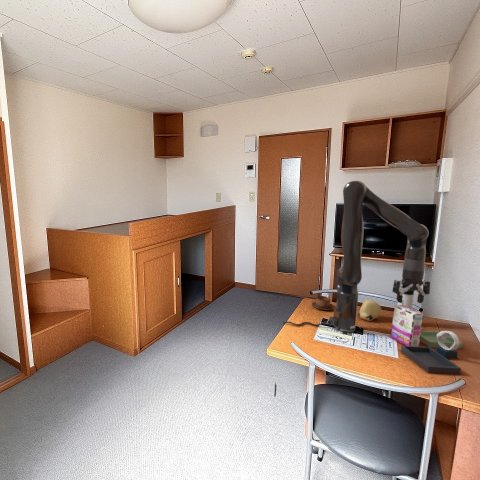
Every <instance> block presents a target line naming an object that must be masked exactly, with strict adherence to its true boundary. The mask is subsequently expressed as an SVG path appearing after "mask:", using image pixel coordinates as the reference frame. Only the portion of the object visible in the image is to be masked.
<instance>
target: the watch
mask: <svg viewBox="0 0 480 480" xmlns="http://www.w3.org/2000/svg"><path fill="white" fill-rule="evenodd" d="M436 336H437V340H438V343H439V345H440V346H441V347H435V351H436V352H438V353H439V354H441V355H442V356H444V357H445V358H447V359H448V360H450V359H458V354H459V351H458V350H457V349H459V348H458V347H459V344H460V342H461V341H460V338H459V336H458V335H457V334H456V333H455V332H454V331H451V330H450V331H449V330H442V331H441V332H439V333H438V334H437V335H436ZM449 336H451V337H453V339H454V341H455V343H454V344H453V345H452V347H449V346H446V345H445V344H444V341H443V340H445V338H448V337H449Z"/></svg>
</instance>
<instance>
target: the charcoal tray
mask: <svg viewBox="0 0 480 480" xmlns="http://www.w3.org/2000/svg"><path fill="white" fill-rule="evenodd" d="M400 352H401V353H402V354H404V355H405V356H406V357H408V358H409V359H410V360H411V361H412V362H414V363H415V364H416V365H417V366H419V367H420V368H421V369H423V371H425V372H426V373H428V374H445V375H446V374H447V375H448V374H450V375H461V369H462V368H461V367H460V366H458V365H457V364H455V363H454V362H453V361H452V360H450V359H447V358H445V357H444V356H442V355H441V354H439V353H438V352H436V349H434V348H433V347H428V346H419V347H418V346H405V345H401V347H400Z"/></svg>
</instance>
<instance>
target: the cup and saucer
mask: <svg viewBox="0 0 480 480" xmlns="http://www.w3.org/2000/svg"><path fill="white" fill-rule="evenodd" d="M311 305H312V306H313V307H314V308H315V309H318V310H321V311H331V310H334V309H335V305H334V304H332V303H331V298H330V297H328V296H323V295H318V296H316V301H312V302H311Z"/></svg>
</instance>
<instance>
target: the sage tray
mask: <svg viewBox="0 0 480 480" xmlns="http://www.w3.org/2000/svg"><path fill="white" fill-rule="evenodd" d="M439 332H442V331H440V330H437V331H436V330H421V336H420V342H421V343H422V344H424V345H426V347H430V348H436V347H441V346H440V345H439V343H438V340H437V336H436V335H437V334H438V333H439ZM443 341H444V344H445V345H446V346H449V347H452V345H453V344H454V343H455V341H454V339H453V337H452V336H451V335H450V336H449V337H448V338H445V340H443ZM462 348H463V342H462V341H460V344H459V347H458V348H457V349H462Z"/></svg>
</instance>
